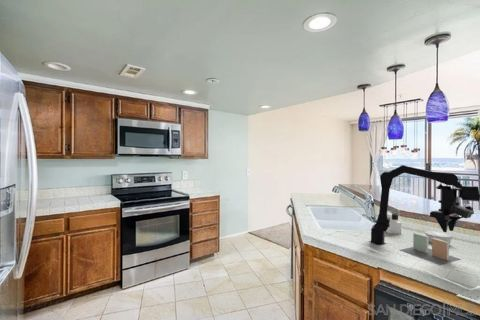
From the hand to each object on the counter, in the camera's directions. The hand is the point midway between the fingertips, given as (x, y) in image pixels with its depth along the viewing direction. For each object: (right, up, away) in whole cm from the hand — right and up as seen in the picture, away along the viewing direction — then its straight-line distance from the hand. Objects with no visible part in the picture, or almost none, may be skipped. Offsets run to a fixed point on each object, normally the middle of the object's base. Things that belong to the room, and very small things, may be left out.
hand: (448, 231), depth 114 cm
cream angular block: (-6, -11, -2) cm, 13 cm away
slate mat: (-8, -12, +1) cm, 15 cm away
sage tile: (-9, -11, +6) cm, 15 cm away
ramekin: (+10, -12, +18) cm, 24 cm away
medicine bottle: (-4, -12, +36) cm, 38 cm away
